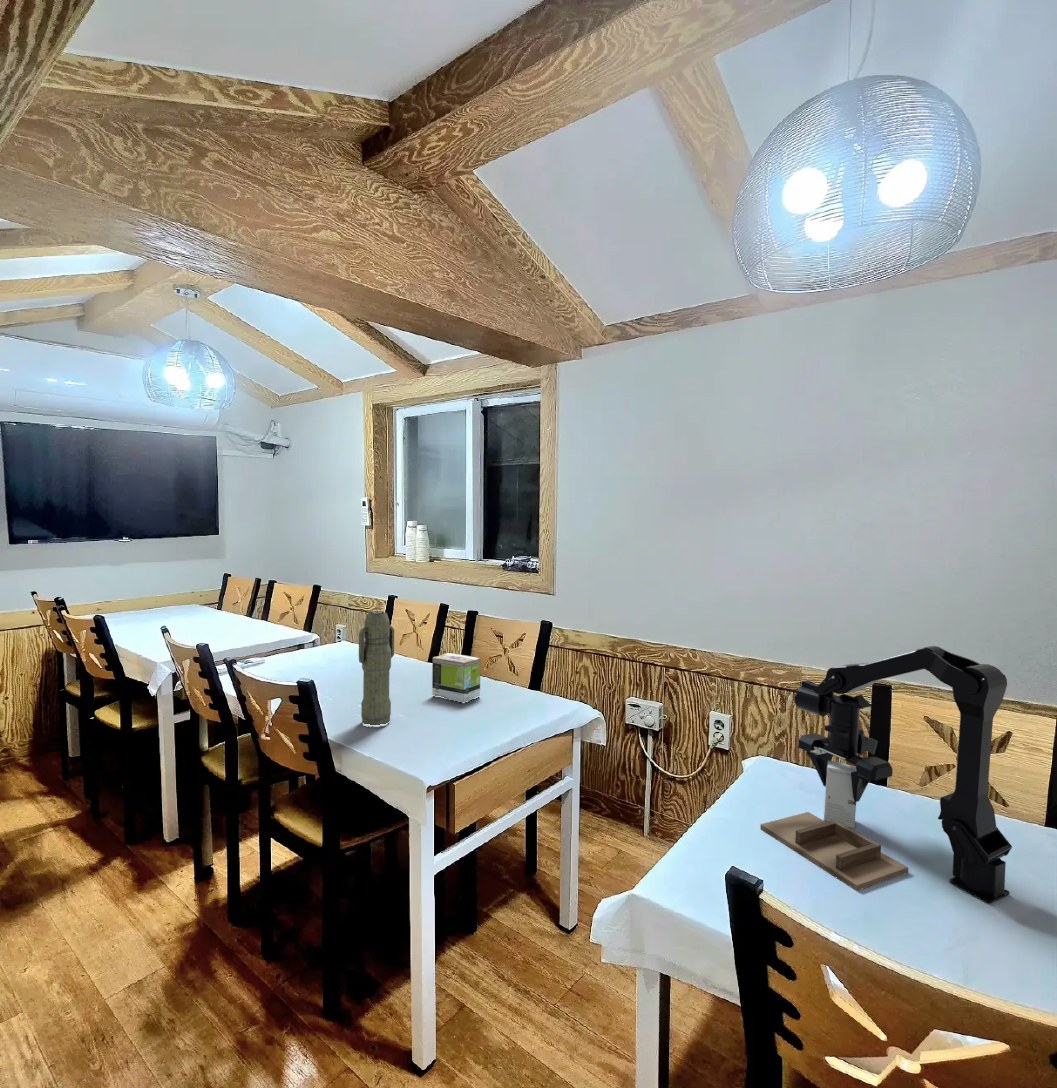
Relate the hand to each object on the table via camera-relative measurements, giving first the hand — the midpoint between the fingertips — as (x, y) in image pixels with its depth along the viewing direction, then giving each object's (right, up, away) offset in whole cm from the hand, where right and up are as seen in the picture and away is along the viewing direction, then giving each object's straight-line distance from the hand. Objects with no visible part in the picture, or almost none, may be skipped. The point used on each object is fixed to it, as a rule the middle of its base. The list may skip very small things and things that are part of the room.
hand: (841, 793), depth 125 cm
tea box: (-95, -2, +83) cm, 126 cm away
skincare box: (0, -6, 0) cm, 6 cm away
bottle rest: (-8, -6, -11) cm, 15 cm away
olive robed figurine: (-116, -2, +55) cm, 128 cm away
